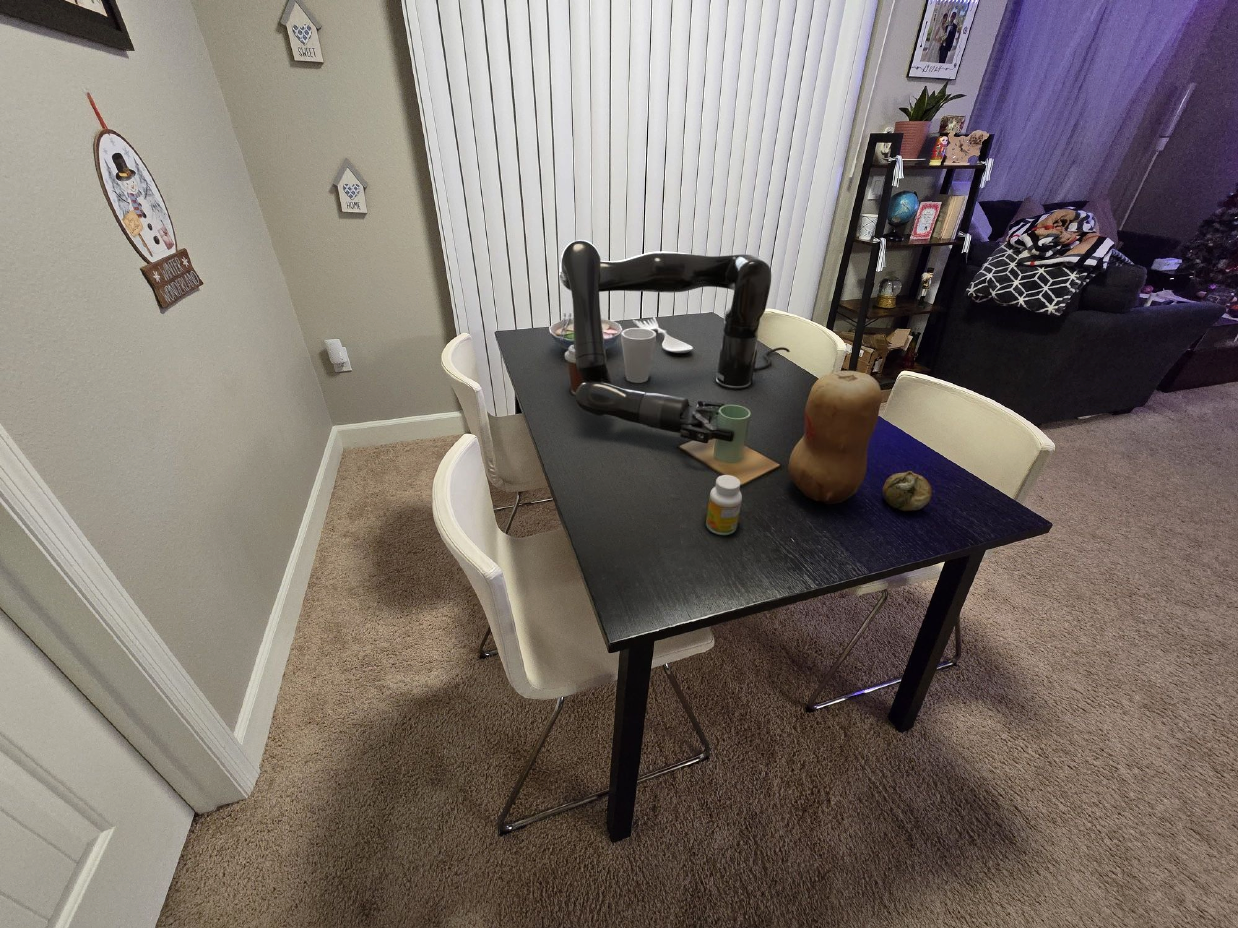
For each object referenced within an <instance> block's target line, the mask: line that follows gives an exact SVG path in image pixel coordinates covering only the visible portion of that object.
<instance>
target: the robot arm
mask: <svg viewBox="0 0 1238 928" xmlns="http://www.w3.org/2000/svg"><path fill="white" fill-rule="evenodd" d="M559 280H560V282H561V284H562V286H563V287H564V288H565V289H567V290H569V291H570V292H571V300H572V318H573V335H574V349H575V359H576V366H577V369H578V371H579V373H580V374H581V375H582V377H583V381H584V383H583V384H581V385H580V386H579V387H578V389H577V390H576V394H574V395H575V396H574V397H575V402H576V403H577V406H578V407H579V408H580V410H582V411H584V412H586V413H589V414H592V415H594V416H597V417H598V416H599V417H600V416H601V417H602V416H610V417H614V418H615V417H616V418H618V419H620V420H623V421H625V422H630V423H635V424H639V425H643V426H646V427H649V428H652V429H656V430H657V429H658V430H662V431H666V432H671V433H676V434H680V436H679V437H680V438H682V439H685V440H690V441H693V440H694V441H698V442H702V443H708V442H709V440H713V439H719V440H724V441H729V442H732V441H733V439H734V431H731V430H726V429H721V428H716V427H714V426H713V425H712V424H713V423H715V422H717V420H718V413H719V409H720V408H721V407H722V406H725V405H726V404H725V403H723V402H718V401H711V400H704V399H698V400H697V405H690V402H689V400H688V398H684V397H680V396H674V395H669V394H663V393H658V392H646V391H640V390H636V389H627V388H622V387H619V386H617V385H616V386H615V385H613V382H612V378H611V375H610V372H609V368H608V364H607V353H606V349H605V344H604V336H603V329H602V321H601V318H602V314H601V312H602V311H601V302H600V299H601V298H600V293H604V292H642V293H643V292H644V293H645V292H647V293H648V292H649V293H665V294H666V293H667V294H669V293H673V294H675V293H684V292H688V291H692V290H693V291H694V290H696V289H700V288H721V289H726V290H730V291H731V290H732V291H733V294H732V301H731V305H730V307H728V308H727V309H726V310H725V312H724V318H723V319H724V320H723V328H722V334H721V342H720V351H719V358H718V365H717V371H716V372H715V376H716V378H715V382H716V384H717V385H718V386H720V387H723V388H726V389H729V390H743V389H747V388H748V387H750V385H751V383H753V378H754V373H755V371H761V370H764V369H766V368H768V367H769V366H771V364H772V361H771V359H770V357H768V355H770V354H772V353H775V352H777V351H785V352H786V353H790V352H791V351H790V349H789V348H787V347H784V346H782V347H776V348H772V349H770V350H768V351H766V352H765V353H764V359H765V360H766V361H767V362H768V363H767V364H765V365H763V366H759V367H756V363H757V356H758V349H757V343H758V339H759V331H760V325H761V320H762V318H763V316H764V314H765V313H766V309H767V306H768V305H767V304H768V299H769V296H770V290H771V285H772V270H771V267H770V266H769V264H768V262H766V261H764V260H762V259H761V258H759V257H757V256H755V255H753V254H746V253H742V254H741V253H740V254H730V255H715V256H712V255H710V256H709V255H702V254H695V253H684V252H674V251H651V252H646V253H643V254H639V255H636V256H632V257H630V258H626V259H622V260H614V261H613V260H611V261H608V260H602V259H601V255H600V253H599V250H598V249H597V247H596V246H595V245H593V244H592V242H589V241H587V240H584V239H583V240H582V239H577V240H574V241H572V242H570V243H569V244H567V246H566V247H565V248H564V250H563V252H562V254H561V260H560V266H559ZM702 437H703V438H702Z"/></svg>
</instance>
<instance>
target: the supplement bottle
mask: <svg viewBox="0 0 1238 928" xmlns="http://www.w3.org/2000/svg"><path fill="white" fill-rule="evenodd" d="M740 489H741V486H740V481H739V479H738V478H736V477H734V476H731V475H722V474H721V475H719V476H718V477H717V478H716V479H715V486H713V488H712V489H711V490H710V494H709V498H708V505H707V512H706V513H707V514H706V520H705V525H706V527H707V529H708V530H709V531H710V532H711V533H713V534H716V535H719V536H728V535H731V534H733V533H735V532H736V530H737V528H738V523H739V518H740V511H741V507H742V501H743V495H742V492H741V490H740Z"/></svg>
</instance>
